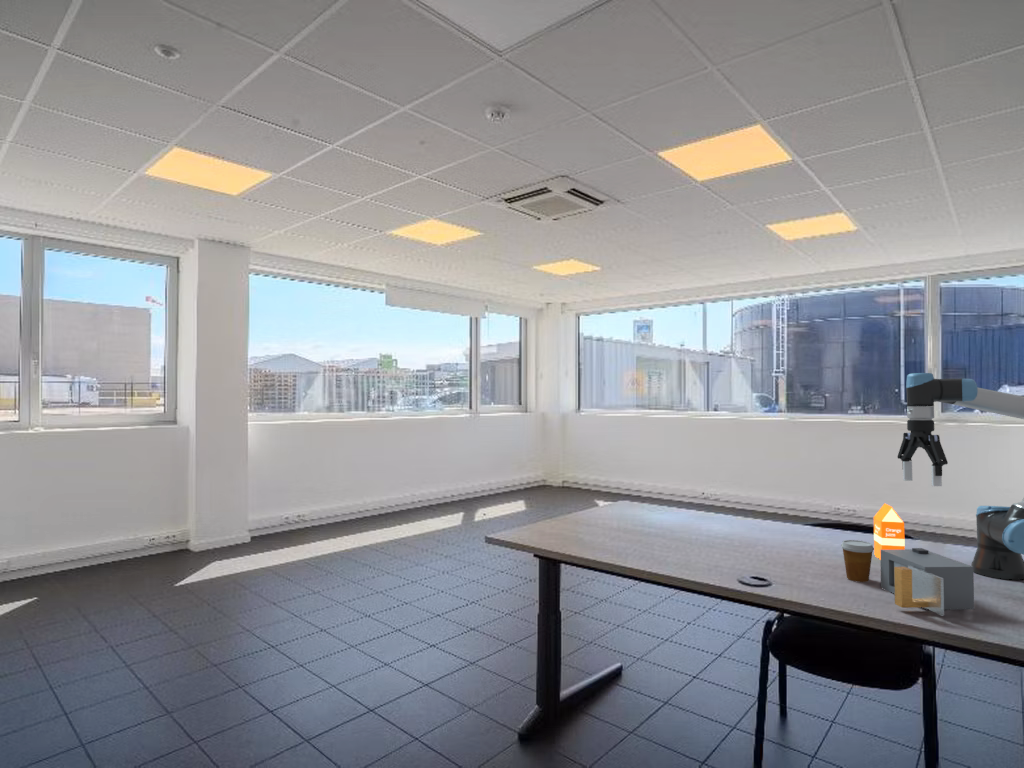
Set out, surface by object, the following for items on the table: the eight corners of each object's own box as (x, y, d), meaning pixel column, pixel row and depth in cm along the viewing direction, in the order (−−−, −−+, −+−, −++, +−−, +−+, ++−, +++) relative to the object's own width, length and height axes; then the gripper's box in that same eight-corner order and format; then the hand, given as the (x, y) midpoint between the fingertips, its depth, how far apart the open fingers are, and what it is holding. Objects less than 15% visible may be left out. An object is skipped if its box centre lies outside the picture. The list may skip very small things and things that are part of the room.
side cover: (911, 599, 178) (910, 561, 178) (944, 615, 165) (943, 574, 165) (883, 600, 177) (883, 562, 178) (914, 615, 164) (913, 574, 165)
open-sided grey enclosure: (924, 587, 192) (923, 546, 193) (974, 609, 172) (973, 563, 173) (880, 587, 192) (880, 546, 192) (925, 609, 172) (924, 563, 172)
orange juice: (896, 556, 230) (895, 503, 230) (905, 562, 221) (904, 507, 222) (873, 555, 232) (872, 502, 232) (881, 561, 223) (880, 506, 224)
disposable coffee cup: (837, 579, 201) (836, 542, 201) (846, 573, 208) (846, 538, 208) (869, 585, 194) (869, 547, 194) (878, 579, 201) (877, 543, 201)
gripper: (885, 418, 215) (886, 478, 214) (936, 420, 190) (938, 488, 189) (906, 418, 215) (907, 478, 215) (960, 420, 190) (961, 488, 190)
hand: (921, 483), depth 202 cm, fingers open, 13 cm apart
